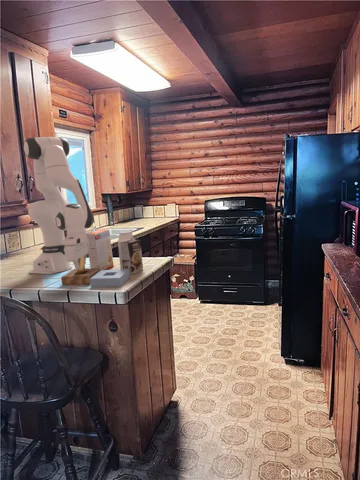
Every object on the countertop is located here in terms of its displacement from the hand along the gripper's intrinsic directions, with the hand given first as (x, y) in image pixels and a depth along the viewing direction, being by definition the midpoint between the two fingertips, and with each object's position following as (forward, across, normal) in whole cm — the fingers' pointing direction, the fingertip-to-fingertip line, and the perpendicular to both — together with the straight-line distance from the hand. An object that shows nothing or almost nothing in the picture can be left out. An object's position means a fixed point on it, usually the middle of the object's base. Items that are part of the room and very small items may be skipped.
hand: (80, 266), depth 169 cm
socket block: (+7, +4, +16) cm, 18 cm away
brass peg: (+7, 0, 0) cm, 7 cm away
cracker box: (+7, -19, +3) cm, 21 cm away
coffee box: (+7, -13, +22) cm, 27 cm away
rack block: (+7, 0, 0) cm, 7 cm away
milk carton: (+7, -22, +17) cm, 29 cm away
